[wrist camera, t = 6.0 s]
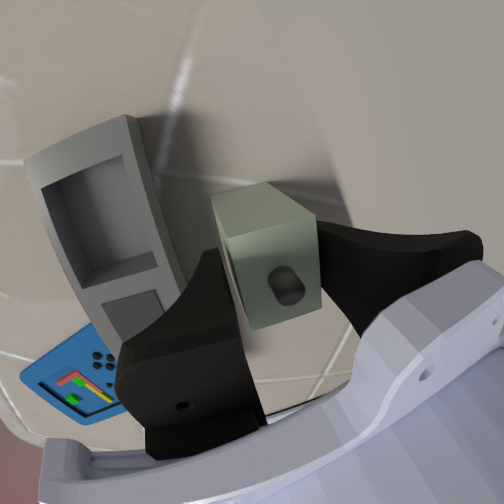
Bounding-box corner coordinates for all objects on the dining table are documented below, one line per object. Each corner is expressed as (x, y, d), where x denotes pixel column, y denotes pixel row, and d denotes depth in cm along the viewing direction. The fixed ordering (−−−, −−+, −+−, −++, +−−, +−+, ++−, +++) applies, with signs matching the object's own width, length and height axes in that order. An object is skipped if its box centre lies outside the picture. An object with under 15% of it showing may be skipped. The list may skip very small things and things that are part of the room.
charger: (276, 248, 16) (332, 322, 10) (226, 262, 16) (257, 348, 10) (265, 181, 14) (329, 225, 8) (209, 195, 14) (233, 252, 8)
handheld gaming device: (206, 379, 18) (84, 429, 18) (204, 368, 19) (85, 420, 19) (126, 305, 14) (15, 380, 15) (128, 294, 15) (19, 371, 16)
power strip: (232, 395, 21) (242, 430, 18) (176, 408, 20) (180, 443, 17) (137, 118, 11) (121, 113, 8) (51, 153, 11) (16, 162, 7)
